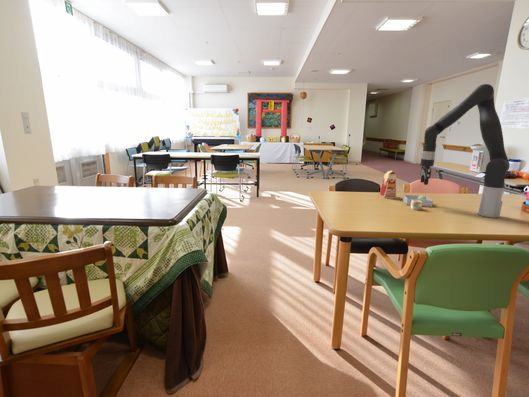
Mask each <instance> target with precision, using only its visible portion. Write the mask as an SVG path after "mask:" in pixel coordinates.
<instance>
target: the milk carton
mask: <svg viewBox="0 0 529 397" xmlns="http://www.w3.org/2000/svg"><path fill="white" fill-rule="evenodd" d="M393 171H394V170H387V172H385V173H384V176H383V179H382V182H381V186H380V192H379V196H380V197H381V196H382V199H393V198H396V200H397V174H396V173H395V172H393Z"/></svg>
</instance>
